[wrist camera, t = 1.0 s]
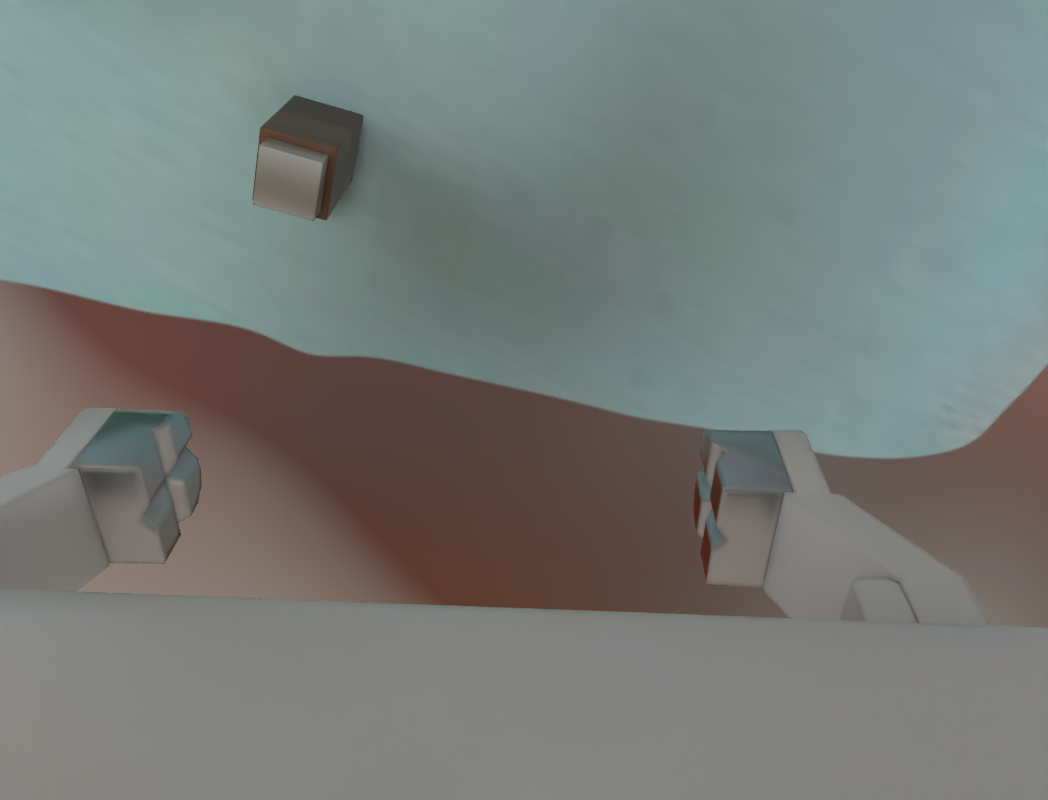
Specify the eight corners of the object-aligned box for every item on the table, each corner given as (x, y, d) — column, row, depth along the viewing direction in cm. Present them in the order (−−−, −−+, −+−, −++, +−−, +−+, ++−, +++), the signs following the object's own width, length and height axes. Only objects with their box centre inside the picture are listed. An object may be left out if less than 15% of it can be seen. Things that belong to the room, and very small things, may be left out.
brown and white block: (294, 94, 49) (251, 135, 43) (363, 115, 50) (332, 157, 43) (285, 161, 52) (243, 209, 45) (352, 180, 52) (320, 230, 45)
